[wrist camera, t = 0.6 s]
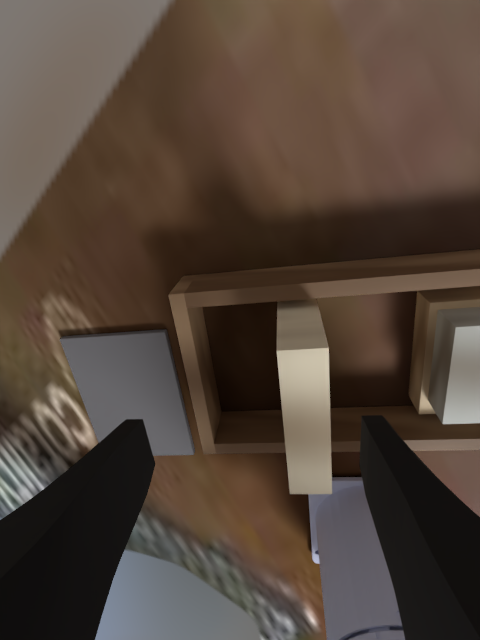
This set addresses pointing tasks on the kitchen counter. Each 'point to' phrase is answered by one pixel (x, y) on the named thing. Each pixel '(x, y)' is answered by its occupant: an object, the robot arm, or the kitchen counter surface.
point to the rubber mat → (131, 386)
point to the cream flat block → (305, 395)
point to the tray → (308, 283)
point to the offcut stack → (447, 354)
